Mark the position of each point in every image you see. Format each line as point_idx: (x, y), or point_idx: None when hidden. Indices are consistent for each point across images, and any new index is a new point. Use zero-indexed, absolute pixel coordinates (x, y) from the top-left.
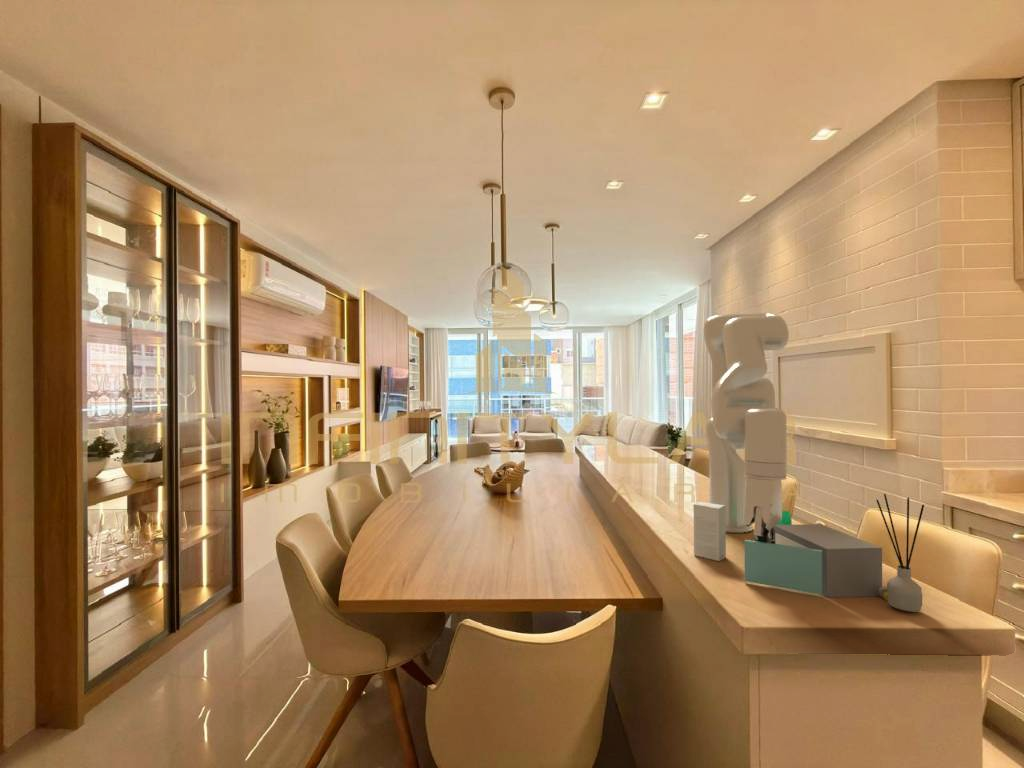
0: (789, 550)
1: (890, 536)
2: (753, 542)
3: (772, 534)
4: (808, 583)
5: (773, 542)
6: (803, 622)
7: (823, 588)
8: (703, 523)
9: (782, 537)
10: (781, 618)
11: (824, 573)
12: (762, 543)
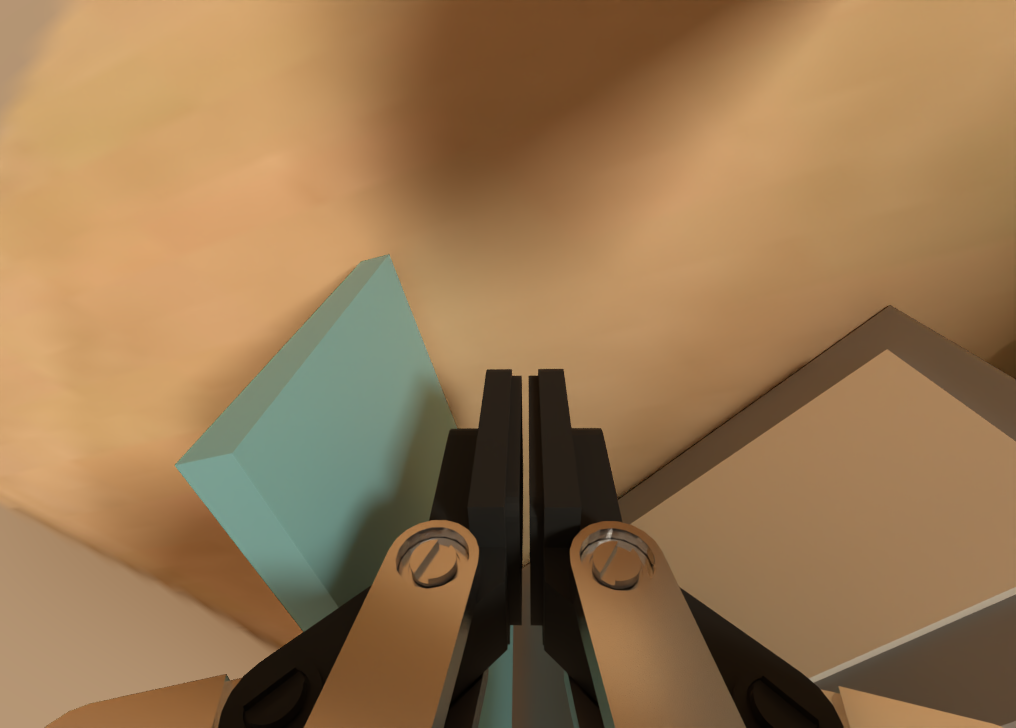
0: None
1: None
2: (248, 544)
3: (574, 719)
4: None
5: (542, 630)
6: (161, 557)
7: (525, 595)
8: None
9: (969, 593)
10: (106, 501)
11: (521, 680)
12: (296, 617)
